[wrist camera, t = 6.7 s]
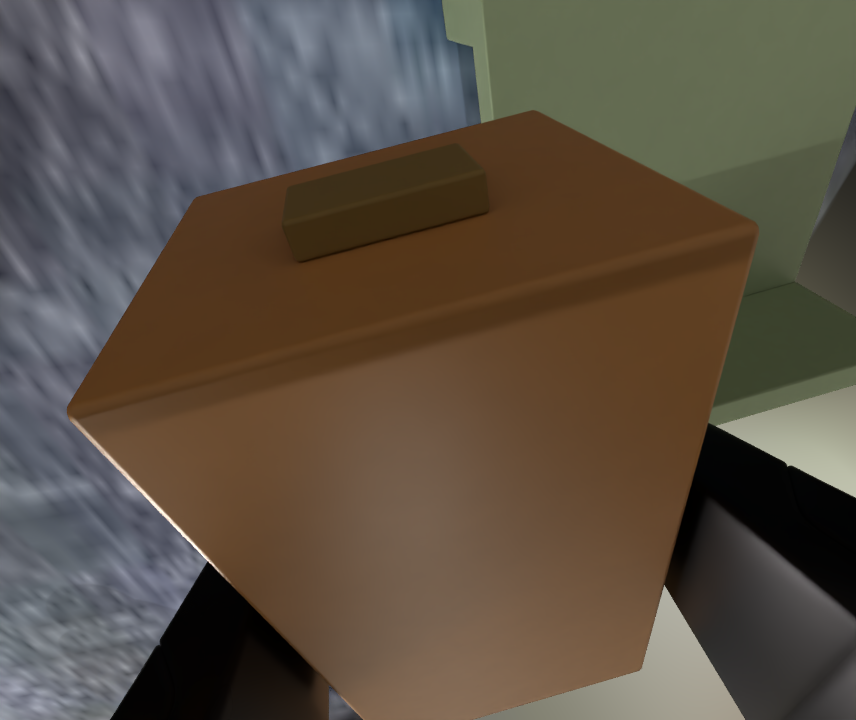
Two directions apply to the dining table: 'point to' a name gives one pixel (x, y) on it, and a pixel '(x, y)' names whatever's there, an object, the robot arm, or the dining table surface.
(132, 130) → the dining table surface
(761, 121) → the green toy bench
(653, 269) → the case
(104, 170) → the dining table surface
